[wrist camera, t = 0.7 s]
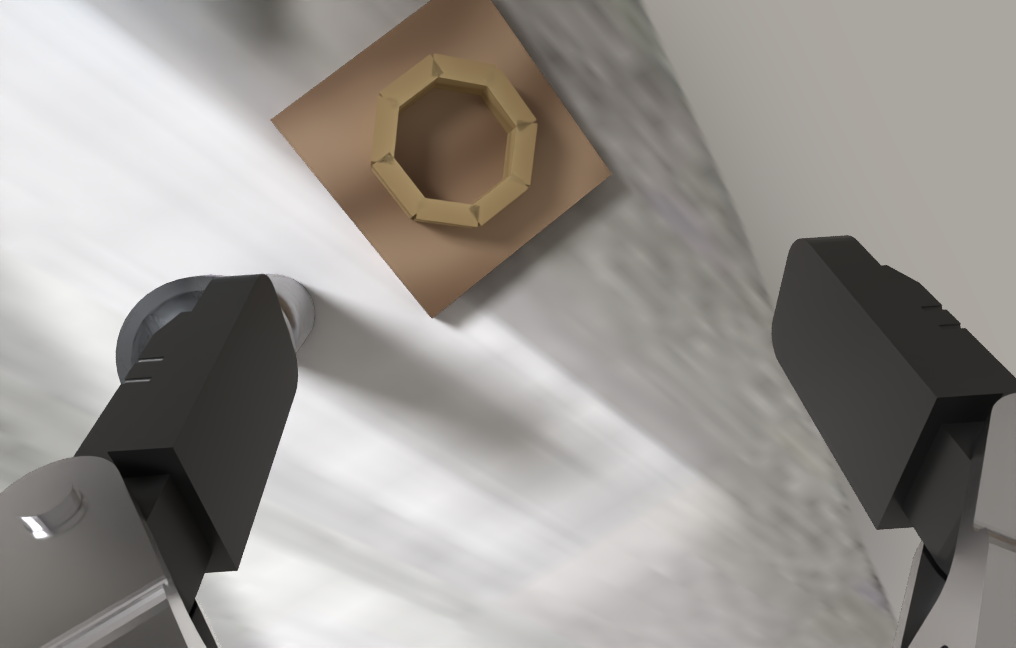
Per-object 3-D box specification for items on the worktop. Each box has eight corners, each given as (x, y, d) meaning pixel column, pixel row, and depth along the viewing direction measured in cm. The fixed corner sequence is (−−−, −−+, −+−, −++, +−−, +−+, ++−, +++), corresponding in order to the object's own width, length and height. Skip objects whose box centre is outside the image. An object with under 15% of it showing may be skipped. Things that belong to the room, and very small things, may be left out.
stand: (274, 125, 32) (263, 110, 28) (466, -17, 33) (477, -48, 30) (429, 315, 34) (436, 322, 31) (601, 177, 36) (626, 169, 32)
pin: (201, 307, 32) (76, 347, 18) (279, 246, 32) (215, 242, 19) (267, 380, 33) (197, 470, 19) (342, 320, 33) (325, 367, 20)
